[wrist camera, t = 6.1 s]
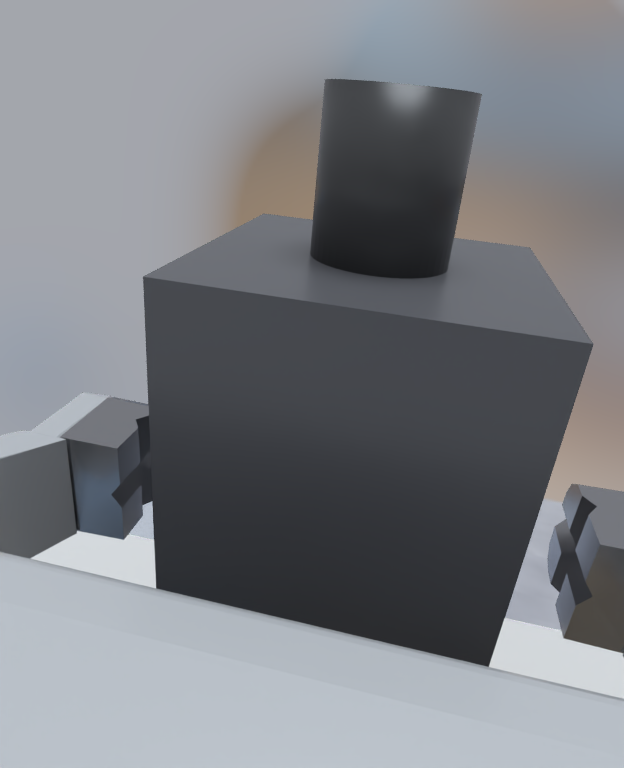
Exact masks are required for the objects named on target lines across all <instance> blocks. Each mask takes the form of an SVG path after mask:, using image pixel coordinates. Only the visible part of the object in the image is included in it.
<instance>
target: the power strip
mask: <svg viewBox="0 0 624 768" xmlns="http://www.w3.org/2000/svg"><path fill="white" fill-rule="evenodd" d="M30 559H34V560H38V561H42V562H46V563H51V564H55V565H59V566H63V567H67V568H72V569H76V570H80V571H84V572H89V573H93V574H97V575H101V576H106V577H110V578H114V579H118V580H123V581H127V582H131V583H135V584H139V585H144V586H148V587H152V588H156V573H155V548H154V540H152V539H148V538H143V537H139V536H134V535H130V534H128V535H127V537H126V538H125V539H124V540H122V539H117V538H112V537H106V536H101V535H96V534H91V533H86V532H81V531H77V534H75V535H73V536H71V537H69V538H67V539H65V540H63V541H62V542H60V543H58V544H56V545H54V546H52V547H50V548H49V549H47V550H45V551H43V552H41V553H39V554H37V555H36V556H34V557H32V558H30ZM622 655H623V653H619V652H615V651H611V650H607V649H603V648H599V647H595V646H591V645H587V644H584V643H580V642H576V641H572V640H568V639H564V638H563V635H562V631H561V630H557V629H552V628H548V627H543V626H539V625H534V624H530V623H525V622H521V621H516V620H512V619H507V618H504V621H503V624H502V628H501V631H500V634H499V637H498V640H497V643H496V646H495V649H494V652H493V655H492V658H491V661H490V664H489V667H491V668H496V669H500V670H504V671H508V672H513V673H517V674H521V675H525V676H530V677H534V678H538V679H542V680H547V681H551V682H555V683H559V684H564V685H568V686H572V687H576V688H581V689H585V690H589V691H593V692H598V693H602V694H606V695H610V696H615V697H619V698H623V699H624V657H623V656H622Z"/></svg>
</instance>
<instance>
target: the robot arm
mask: <svg viewBox="0 0 624 768" xmlns="http://www.w3.org/2000/svg"><path fill="white" fill-rule="evenodd" d="M151 501H153V500H152V476H151V452H150V428H149V404H145V403H140V402H135V401H130V400H125V399H120V398H115V397H111V396H106V395H100V394H94V393H81V394H80V395H79V396H77V397H76V398H75V399H73V400H72V401H71V402H69V403H68V404H67V405H65V406H64V407H63V408H61V409H60V410H59V411H57V412H56V413H55V414H53V415H52V416H50V417H49V418H48V419H47V420H45V421H44V422H42V423H41V424H40V425H38V426H37V427H36V428H34V429H33V430H31V431H30V432H28V431H23V430H21V431H17V432H13V433H9V434H5V435H1V436H0V768H624V699H623V698H619V697H615V696H610V695H606V694H602V693H598V692H593V691H589V690H585V689H581V688H576V687H572V686H568V685H564V684H559V683H555V682H551V681H547V680H542V679H538V678H534V677H530V676H525V675H521V674H517V673H513V672H508V671H504V670H500V669H496V668H491V667H487V666H483V665H479V664H474V663H470V662H466V661H462V660H457V659H453V658H449V657H445V656H440V655H436V654H432V653H428V652H423V651H419V650H415V649H411V648H406V647H402V646H398V645H394V644H389V643H385V642H381V641H377V640H373V639H368V638H364V637H360V636H356V635H351V634H347V633H343V632H339V631H334V630H330V629H326V628H322V627H317V626H313V625H309V624H305V623H301V622H296V621H292V620H288V619H284V618H279V617H275V616H271V615H267V614H262V613H258V612H254V611H250V610H245V609H241V608H237V607H233V606H228V605H224V604H220V603H216V602H212V601H207V600H203V599H199V598H195V597H190V596H186V595H182V594H178V593H173V592H169V591H165V590H161V589H156V588H152V587H148V586H144V585H139V584H135V583H131V582H127V581H123V580H118V579H114V578H110V577H106V576H101V575H97V574H93V573H89V572H84V571H80V570H76V569H72V568H67V567H63V566H59V565H55V564H51V563H46V562H42V561H38V560H34V559H30V558H32V557H34V556H36V555H37V554H39V553H41V552H43V551H45V550H47V549H49V548H50V547H52V546H54V545H56V544H58V543H60V542H62V541H63V540H65V539H67V538H69V537H71V536H73V535H75V534H77V531H81V532H86V533H91V534H96V535H101V536H106V537H112V538H117V539H122V540H124V539H125V538H126V537H127V535H128V534H129V533H130V531H131V530H132V529H133V527H134V526H135V525H136V524H137V522H138V521H139V520H140V518H141V517H142V516H143V510H142V505H144V504H146V503H149V502H151ZM562 506H563V509H564V513H565V516H566V519H565V520H564V521H562V522H561V523H559V524H558V525H556V526H555V527H554V531H553V534H552V537H551V540H550V544H549V552H548V573H549V578H550V583H551V584H552V585H553V586H554V587H555V588H556V589H557V590H558V591H559V592H560V593H559V596H558V599H557V602H556V604H555V605H556V609H557V614H558V618H559V622H560V626H561V631H562V635H563V638H564V639H568V640H572V641H576V642H580V643H584V644H587V645H591V646H595V647H599V648H603V649H607V650H611V651H615V652H619V653H623V655H622V656H623V657H624V492H622V491H615V490H609V489H603V488H597V487H590V486H584V485H578V484H571V486H570V488H569V489H568V491H567V493H566V496H565V498H564V501H563V504H562Z"/></svg>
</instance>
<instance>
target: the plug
mask: <svg viewBox="0 0 624 768" xmlns="http://www.w3.org/2000/svg"><path fill="white" fill-rule="evenodd" d="M481 96H482V94H479V93H474V92H468V91H462V90H454V89H447V88H438V87H430V86H420V85H410V84H400V83H388V82H376V81H361V80H345V79H326V80H325V86H324V97H323V109H322V120H321V132H320V144H319V156H318V167H317V179H316V190H315V202H314V214H313V220H310V219H302V218H294V217H286V216H278V215H271V214H262V215H260V216H259V217H256V218H255V219H253V220H251V221H249V222H247V223H245V224H243V225H241V226H239V227H237V228H235V229H234V230H232V231H230V232H228V233H226V234H224V235H222V236H220V237H218V238H216V239H215V240H212V241H211V242H209V243H207V244H205V245H203V246H201V247H199V248H197V249H195V250H193V251H191V252H190V253H188V254H186V255H184V256H182V257H180V258H178V259H176V260H174V261H172V262H170V263H168V264H167V265H165V266H163V267H161V268H159V269H157V270H155V271H153V272H151V273H149V274H147V275H145V276H144V277H143V280H144V281H143V283H144V307H145V331H146V355H147V378H148V402H149V403H148V404H149V428H150V452H151V476H152V500H153V524H154V548H155V573H156V589H161V590H165V591H169V592H173V593H178V594H182V595H186V596H190V597H195V598H199V599H203V600H207V601H212V602H216V603H220V604H224V605H228V606H233V607H237V608H241V609H245V610H250V611H254V612H258V613H262V614H267V615H271V616H275V617H279V618H284V619H288V620H292V621H296V622H301V623H305V624H309V625H313V626H317V627H322V628H326V629H330V630H334V631H339V632H343V633H347V634H351V635H356V636H360V637H364V638H368V639H373V640H377V641H381V642H385V643H389V644H394V645H398V646H402V647H406V648H411V649H415V650H419V651H423V652H428V653H432V654H436V655H440V656H445V657H449V658H453V659H457V660H462V661H466V662H470V663H474V664H479V665H483V666H487V667H489V664H490V661H491V658H492V655H493V652H494V649H495V646H496V643H497V640H498V637H499V634H500V631H501V628H502V624H503V621H504V618H505V615H506V612H507V609H508V606H509V603H510V600H511V597H512V594H513V591H514V587H515V584H516V581H517V578H518V575H519V572H520V569H521V566H522V563H523V560H524V557H525V554H526V550H527V547H528V544H529V541H530V538H531V535H532V532H533V529H534V526H535V523H536V520H537V517H538V513H539V510H540V507H541V504H542V501H543V498H544V495H545V492H546V489H547V485H548V483H549V480H550V476H551V473H552V470H553V467H554V464H555V461H556V458H557V455H558V452H559V449H560V445H561V443H562V439H563V436H564V433H565V430H566V427H567V424H568V421H569V418H570V415H571V412H572V409H573V406H574V402H575V399H576V396H577V393H578V390H579V387H580V384H581V381H582V378H583V375H584V372H585V369H586V366H587V362H588V359H589V356H590V353H591V350H592V347H593V343H592V341H591V340H590V338H589V337H588V335H587V333H586V332H585V330H584V329H583V327H582V326H581V324H580V323H579V321H578V320H577V318H576V317H575V315H574V314H573V312H572V311H571V309H570V308H569V306H568V305H567V303H566V302H565V300H564V299H563V297H562V296H561V294H560V292H559V291H558V290H557V288H556V286H555V285H554V283H553V282H552V280H551V279H550V277H549V276H548V274H547V273H546V271H545V270H544V268H543V267H542V265H541V264H540V262H539V261H538V259H537V258H536V256H535V255H534V253H533V251H532V250H531V248H528V247H521V246H513V245H505V244H498V243H489V242H482V241H474V240H465V239H458V238H454V235H455V230H456V224H457V220H458V214H459V209H460V204H461V199H462V193H463V188H464V183H465V178H466V173H467V168H468V163H469V157H470V152H471V147H472V142H473V137H474V131H475V127H476V121H477V116H478V111H479V106H480V101H481Z"/></svg>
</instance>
